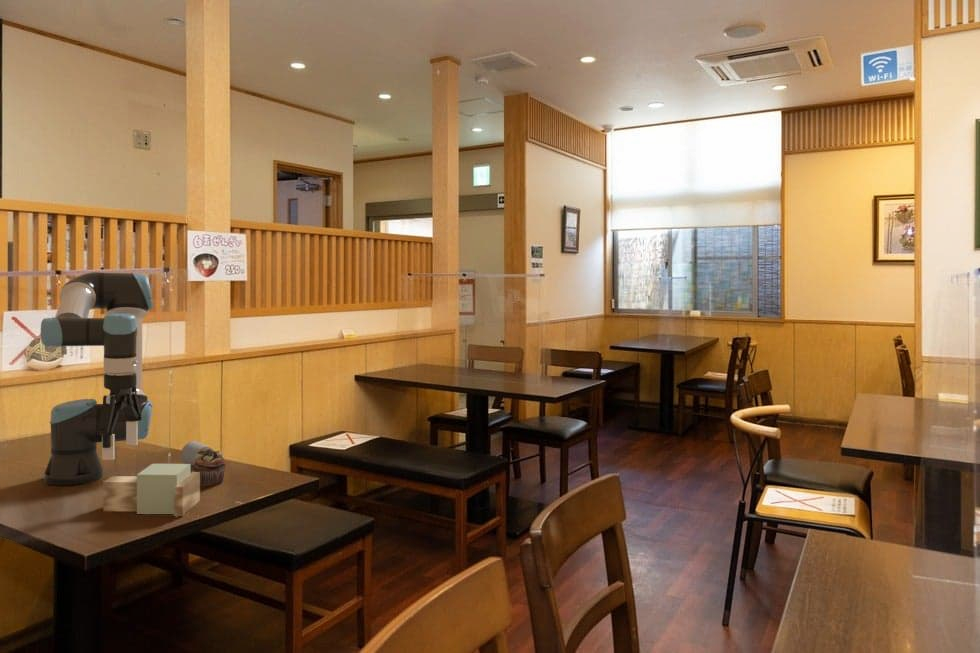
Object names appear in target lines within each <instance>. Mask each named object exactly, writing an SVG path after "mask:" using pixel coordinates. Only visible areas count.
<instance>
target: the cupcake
mask: <svg viewBox="0 0 980 653" xmlns="http://www.w3.org/2000/svg"><path fill="white" fill-rule="evenodd" d="M204 452H206V454H205V453H204ZM196 458H197V459H196V460H195V464H194V465H193V466H191V473H192V472H200V487H201V486H211V487H215V485H216V486H218V485H221V484H222V483H223V482H224V478H225V472H226V468H227V466H226V462H225V458H224V457H223V452H221V451H219V450H217V451H215V450H213V452H212V450H211V449H209V450H207V451H201V452H199V453H198V454H197V455H196Z"/></svg>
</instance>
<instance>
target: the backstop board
mask: <svg viewBox="0 0 980 653" xmlns="http://www.w3.org/2000/svg"><path fill="white" fill-rule="evenodd" d="M200 500H201V486H200V472H192V471H191V474H190V475H188V476H187V477H186V478H185V479H184V480H182V481H181V482H180V483H179V484H178V485H177V486H175V515H174V517H175V516H183V515H184V514H185V513H186V512H187V511H188V510H189V509H190V508H191V509H193V507H195V506H196V504H198V503H199V502H200ZM191 509H190V510H191ZM190 510H189V511H190ZM189 511H188V512H189ZM188 512H187V513H188ZM187 513H186V514H187ZM186 514H185V515H186ZM185 515H184V516H185ZM184 516H183V517H184Z"/></svg>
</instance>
